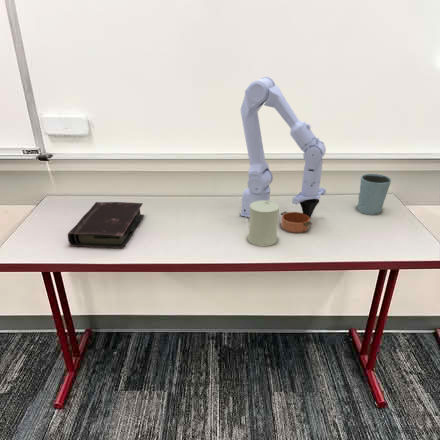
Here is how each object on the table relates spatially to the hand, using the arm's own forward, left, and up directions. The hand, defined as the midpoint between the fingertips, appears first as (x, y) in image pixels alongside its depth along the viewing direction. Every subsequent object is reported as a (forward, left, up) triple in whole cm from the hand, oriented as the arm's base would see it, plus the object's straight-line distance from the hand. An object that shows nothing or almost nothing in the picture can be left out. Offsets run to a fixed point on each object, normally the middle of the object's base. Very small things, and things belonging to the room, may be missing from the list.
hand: (306, 218), depth 146 cm
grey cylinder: (+18, +20, -2) cm, 28 cm away
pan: (-3, -5, -1) cm, 6 cm away
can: (-10, -19, -2) cm, 21 cm away
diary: (-59, -34, -2) cm, 67 cm away
